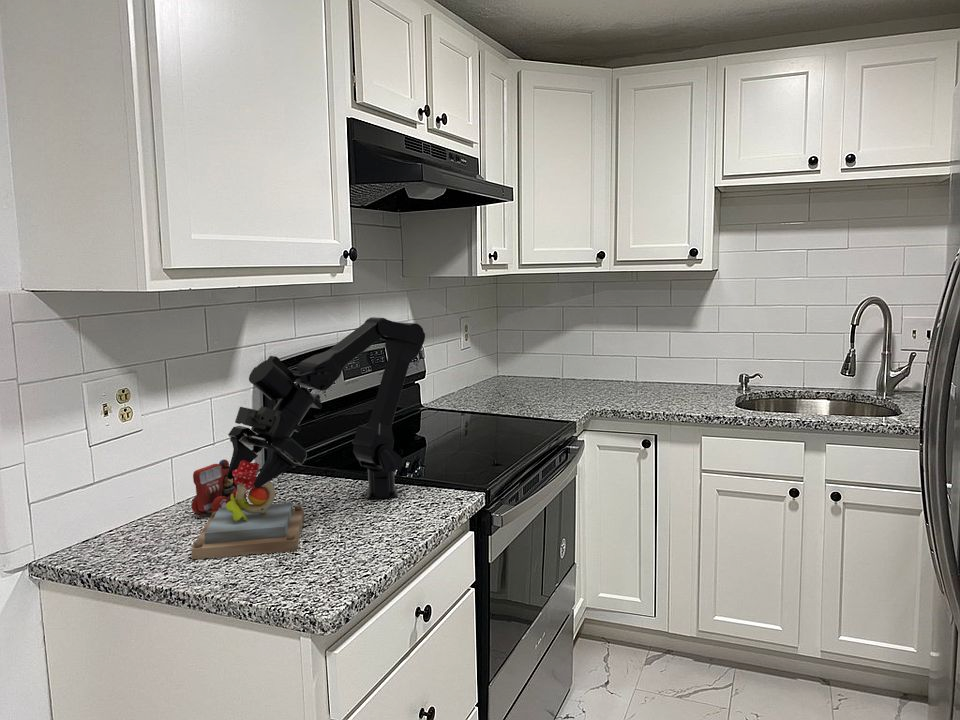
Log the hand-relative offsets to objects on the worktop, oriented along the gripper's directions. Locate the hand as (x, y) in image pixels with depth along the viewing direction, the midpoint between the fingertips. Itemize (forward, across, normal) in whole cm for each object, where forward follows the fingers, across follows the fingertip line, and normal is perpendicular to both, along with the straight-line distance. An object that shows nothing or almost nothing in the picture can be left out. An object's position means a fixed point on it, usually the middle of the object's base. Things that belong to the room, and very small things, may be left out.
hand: (241, 482), depth 138 cm
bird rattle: (+4, 0, +6) cm, 7 cm away
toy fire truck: (+4, -20, +12) cm, 23 cm away
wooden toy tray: (+7, 0, +9) cm, 11 cm away
